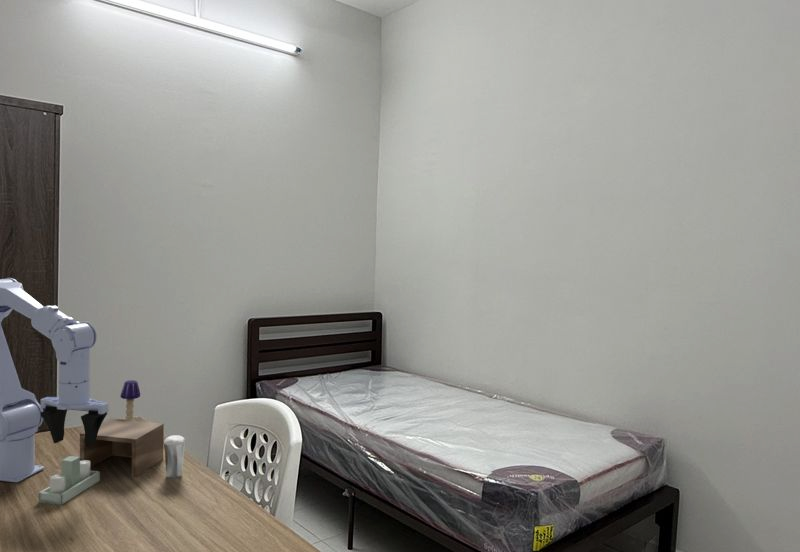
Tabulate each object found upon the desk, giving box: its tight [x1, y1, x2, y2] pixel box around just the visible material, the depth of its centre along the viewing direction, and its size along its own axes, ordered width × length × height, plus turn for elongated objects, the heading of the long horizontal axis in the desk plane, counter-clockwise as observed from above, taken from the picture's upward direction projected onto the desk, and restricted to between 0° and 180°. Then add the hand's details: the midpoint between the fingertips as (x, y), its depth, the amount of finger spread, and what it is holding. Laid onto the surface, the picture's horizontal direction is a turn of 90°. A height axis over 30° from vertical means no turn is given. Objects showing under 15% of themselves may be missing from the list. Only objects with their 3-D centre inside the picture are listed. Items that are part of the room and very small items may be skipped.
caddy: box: [37, 455, 101, 506], centre depth 122 cm, size 5×12×7 cm, turn 172°
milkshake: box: [163, 434, 188, 479], centre depth 132 cm, size 5×5×10 cm
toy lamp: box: [120, 379, 141, 421], centre depth 149 cm, size 5×5×17 cm
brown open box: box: [79, 418, 165, 478], centre depth 137 cm, size 14×11×9 cm
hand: (74, 443), depth 123 cm, fingers open, 7 cm apart
